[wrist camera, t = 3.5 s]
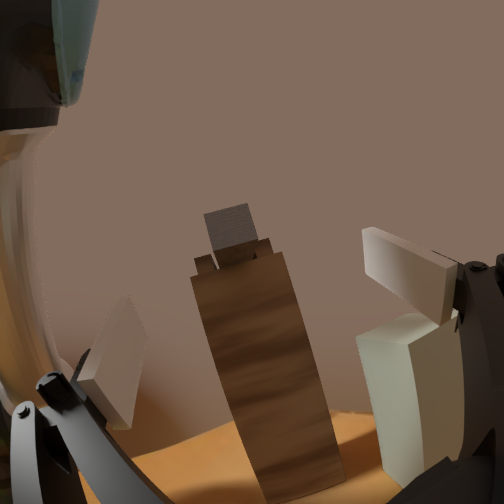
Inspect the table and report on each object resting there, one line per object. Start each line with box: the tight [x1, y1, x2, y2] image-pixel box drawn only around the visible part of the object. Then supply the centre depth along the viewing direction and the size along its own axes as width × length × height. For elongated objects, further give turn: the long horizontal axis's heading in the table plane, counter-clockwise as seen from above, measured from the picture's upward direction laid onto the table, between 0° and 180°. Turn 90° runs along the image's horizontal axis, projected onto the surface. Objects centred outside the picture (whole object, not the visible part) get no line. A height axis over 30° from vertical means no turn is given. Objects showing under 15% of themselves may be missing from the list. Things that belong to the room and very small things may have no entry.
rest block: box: [355, 310, 464, 489], centre depth 21 cm, size 10×7×19 cm
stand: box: [190, 238, 346, 504], centre depth 32 cm, size 10×10×32 cm
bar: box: [204, 203, 258, 269], centre depth 32 cm, size 22×4×3 cm, turn 3°
